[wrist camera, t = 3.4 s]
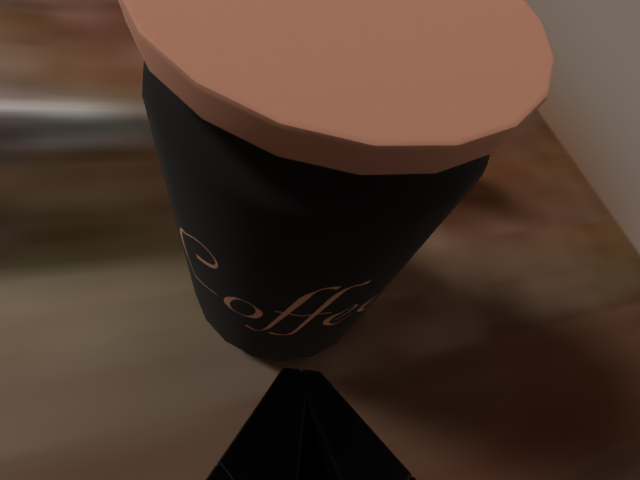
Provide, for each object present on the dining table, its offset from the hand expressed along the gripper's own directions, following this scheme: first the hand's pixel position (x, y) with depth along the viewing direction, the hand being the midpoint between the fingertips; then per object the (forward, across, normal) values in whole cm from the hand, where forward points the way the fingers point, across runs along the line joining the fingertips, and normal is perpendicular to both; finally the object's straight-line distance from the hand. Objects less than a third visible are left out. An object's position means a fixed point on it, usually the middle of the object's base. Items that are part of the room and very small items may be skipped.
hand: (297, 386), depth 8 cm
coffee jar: (+16, 0, +4) cm, 16 cm away
